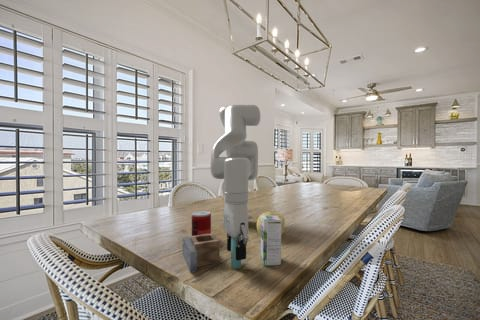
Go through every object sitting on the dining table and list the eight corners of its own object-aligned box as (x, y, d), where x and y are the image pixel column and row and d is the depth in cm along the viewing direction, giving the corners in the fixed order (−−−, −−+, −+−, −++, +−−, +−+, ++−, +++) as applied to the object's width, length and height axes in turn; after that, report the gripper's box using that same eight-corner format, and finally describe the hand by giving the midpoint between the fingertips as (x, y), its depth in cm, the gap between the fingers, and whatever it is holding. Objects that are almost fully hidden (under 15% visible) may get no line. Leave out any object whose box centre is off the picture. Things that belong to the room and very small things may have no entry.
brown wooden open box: (212, 252, 82) (212, 233, 82) (219, 262, 75) (219, 240, 75) (190, 256, 79) (189, 236, 79) (194, 266, 72) (194, 244, 72)
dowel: (239, 263, 74) (239, 228, 74) (243, 267, 71) (242, 231, 71) (229, 264, 73) (229, 230, 73) (233, 269, 70) (233, 233, 70)
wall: (188, 253, 82) (188, 236, 82) (196, 271, 69) (196, 251, 69) (182, 254, 81) (182, 237, 81) (190, 272, 68) (190, 252, 68)
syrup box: (260, 258, 78) (260, 215, 78) (277, 257, 78) (277, 214, 78) (263, 266, 72) (263, 219, 72) (282, 265, 73) (282, 219, 72)
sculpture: (260, 242, 92) (260, 215, 92) (254, 232, 104) (254, 208, 104) (287, 240, 94) (287, 214, 94) (278, 231, 106) (278, 208, 106)
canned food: (213, 237, 98) (213, 211, 98) (205, 243, 91) (205, 216, 91) (198, 235, 101) (197, 210, 101) (188, 241, 93) (188, 214, 93)
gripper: (216, 194, 78) (216, 246, 79) (235, 203, 62) (235, 269, 63) (236, 192, 81) (236, 243, 81) (259, 201, 65) (259, 264, 66)
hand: (236, 254), depth 72 cm, fingers open, 6 cm apart
